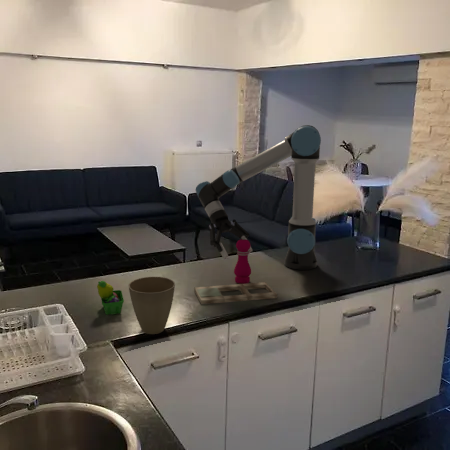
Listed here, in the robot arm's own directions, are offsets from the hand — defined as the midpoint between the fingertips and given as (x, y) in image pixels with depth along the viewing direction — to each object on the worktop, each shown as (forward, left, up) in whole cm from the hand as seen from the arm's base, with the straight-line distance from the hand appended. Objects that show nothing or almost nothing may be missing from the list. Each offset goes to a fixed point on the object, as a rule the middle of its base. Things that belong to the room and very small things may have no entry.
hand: (238, 254), depth 212 cm
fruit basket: (+54, +20, -12) cm, 58 cm away
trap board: (+6, +15, -11) cm, 20 cm away
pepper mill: (-1, +1, -12) cm, 12 cm away
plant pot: (+41, +40, -12) cm, 58 cm away
